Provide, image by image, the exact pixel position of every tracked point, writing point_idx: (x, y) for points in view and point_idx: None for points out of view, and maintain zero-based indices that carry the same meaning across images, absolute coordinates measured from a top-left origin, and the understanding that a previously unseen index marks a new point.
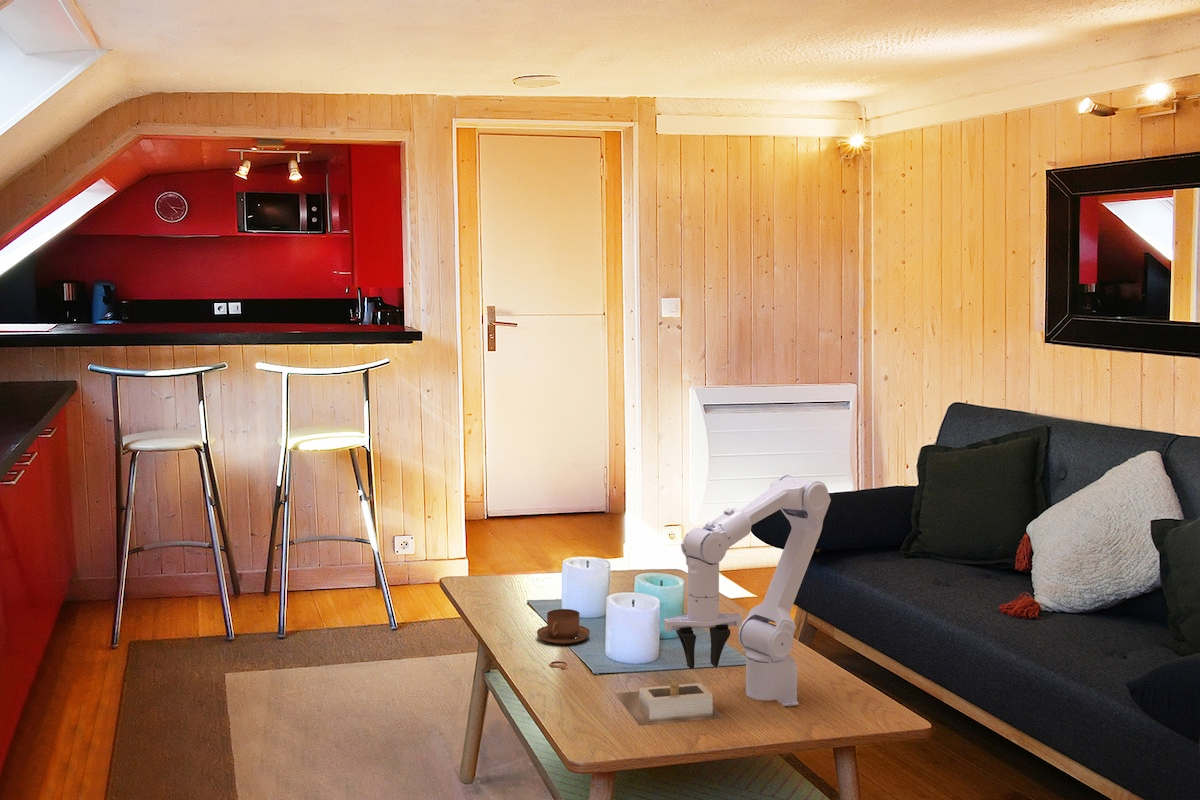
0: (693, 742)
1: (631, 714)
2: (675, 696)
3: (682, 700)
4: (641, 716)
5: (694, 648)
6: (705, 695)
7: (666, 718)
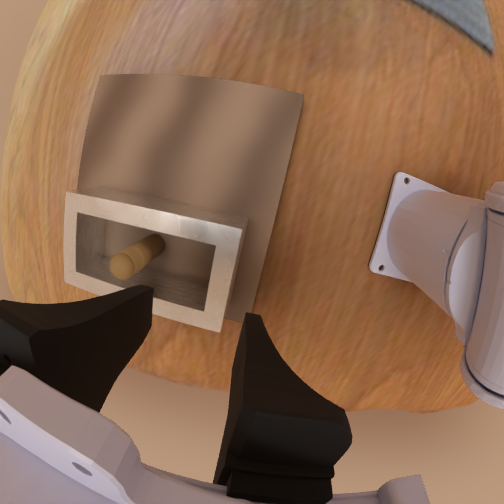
0: (155, 346)
1: None
2: None
3: None
4: None
5: (108, 392)
6: (199, 326)
7: None
